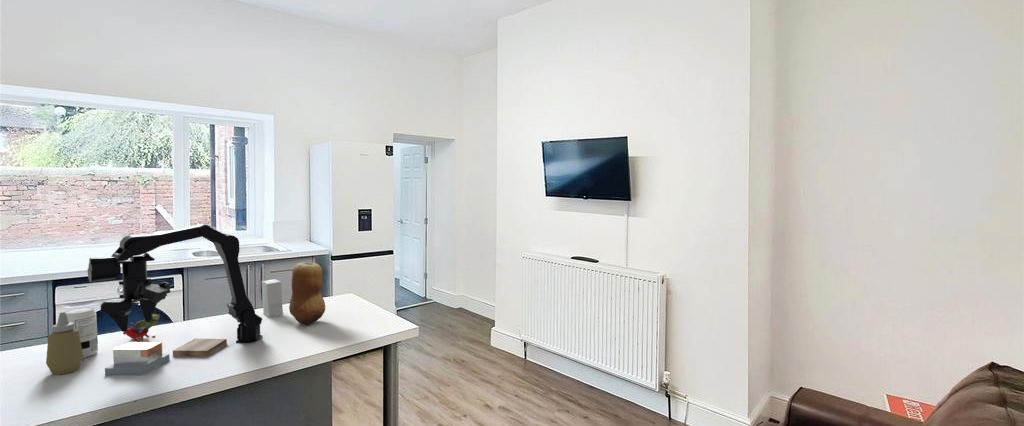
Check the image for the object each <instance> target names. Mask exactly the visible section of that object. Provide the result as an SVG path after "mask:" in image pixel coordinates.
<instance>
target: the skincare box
mask: <svg viewBox="0 0 1024 426" xmlns="http://www.w3.org/2000/svg"><path fill="white" fill-rule="evenodd" d="M282 292H283V291H282V281H280V280H278V279H276V278H275V279H274V278H273V279H268V280H267V279H266V280H261V293H262V311H263V313H262V314H263V315H264V316H266V317H267V318H269V319H271V318H276V317H277V318H278V317H282V316H284V312H283V311H284V310H283V295H282V294H283V293H282Z"/></svg>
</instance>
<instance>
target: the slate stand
mask: <svg viewBox="0 0 1024 426" xmlns="http://www.w3.org/2000/svg"><path fill="white" fill-rule="evenodd" d="M170 358H171V357H170V353H162V358H160V359H158V360H156V361H154V362H152V363H151V364H149V365H114V363H113V364H110V365H109V366H107V367H105V368H104V375H105V376H106V375H107V376H112V375H113V376H144V375H146V374H147V373H150V372H151V371H153V370H155V369H156V368H158V367H160V366H162V365H164V364H165V363H167V362H168V361H170V360H171V359H170Z"/></svg>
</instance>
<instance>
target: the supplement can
mask: <svg viewBox="0 0 1024 426" xmlns="http://www.w3.org/2000/svg"><path fill="white" fill-rule="evenodd" d="M64 312H65V313H66V316H67V318H68V321H69V322H72V323H74V329H76V330H78V331H79V337H80V342H81V347H82V352H83V359H85V358H89V357H91V356H94V355H95V354H96V353H97V352H99V345H98V340H99V339H98V324H97V323H98V322H97V318H98V317H97V312H96V310H94V308H93V307H89V306H88V307H76V308H72V309H68V310H65V311H64Z"/></svg>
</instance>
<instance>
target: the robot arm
mask: <svg viewBox="0 0 1024 426" xmlns="http://www.w3.org/2000/svg"><path fill="white" fill-rule="evenodd" d="M197 238H203V239H206V240H207V241H209V242H211V243H213V246H214V247H215V249H216V251H217V253H218V255H219V256H220V258H221V260H222V261H223V265H224V270H225V275H226V278H227V279H226V280H227V283H228V288H229V290H230V296H231V301H230V303H229V302H228V303H226V306H227V308H228V315H229V316H231V317H232V318H233V319H235V320H236V322H237V323H238V324H237V328H236V341H235V343H237V344H238V343H241V344H245V343H248V344H249V343H251V344H252V343H256V342H257V341H259V340H260V339H262V338H263V335H262V334H261V324H262V322H263V318H262V317H261V316H259V315H258V314H257V313H256V311H255V309H254V306H253V303H252V302H251V301H250V299H249V298H248V296H247V292H246V289H245V285H244V279H243V275H242V271H241V266H240V263H239V262H240V261H239V254H240V240H239V238H238V237H236V236H235V235H231V234H228V233H223V232H221V231H218V230H217V229H214V228H213V227H211V226H210V225H208V224H205V223H204V224H203V223H199V224H196V225H192V226H188V227H184V228H179V229H172V230H168V231H164V232H158V233H146V234H145V233H142V234H141V233H140V234H129V235H126V236H124V237H122V239H121V240H120V241H119V247H118V248H117V249H116V250H115V251H114V252H113V254H112V255H111V256H108V257H90V258H89V259H88V268H87V276H88V277H87V279H88V281H89V283H93V282H100V281H101V282H102V281H109V280H116V279H117V277H119V276H121V274H122V280H119V281H118V285H119V286H121V285H122V293H121V294H119V298H113V299H108V300H106V301H103V302H102V303H100V312H101V313H104V314H107V315H109V316H110V318H111V319H112V320H113V321H114V322H115V324H116V326H118V328H119V329H120V330H121V332H122V333H123V332H126V331H127V329H129V328H128V324H129V315H130V314H131V312H132V311H133V309H132V307H133V304H135V303H137V302H138V303H139V305H140V307H141V308H140V309H141V311H142V314H143V317H144V319H145V320H146V322H150V321H151V318H152V315H153V314H154V312H155V310H156V307H157V305H158V303H160V302H161V301H162V300H166V297H167V296H168V295H167V294H170V293H171V284H170V282H167V281H163V282H161V283H159V284H158V283H157V284H154V283H153V280H152V278H150V277H148V272H147V271H148V270H147V269H148V268H147V267H148V266H147V265H148V264H147V262H152V261H155V259H156V258H155V257H153V256H151V255H150V254H149V252H152V251H153V250H156V249H157V248H160V247H162V246H166V245H171V244H175V243H179V242H180V243H181V242H184V241H189V240H194V239H197ZM121 267H122V268H121Z"/></svg>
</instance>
